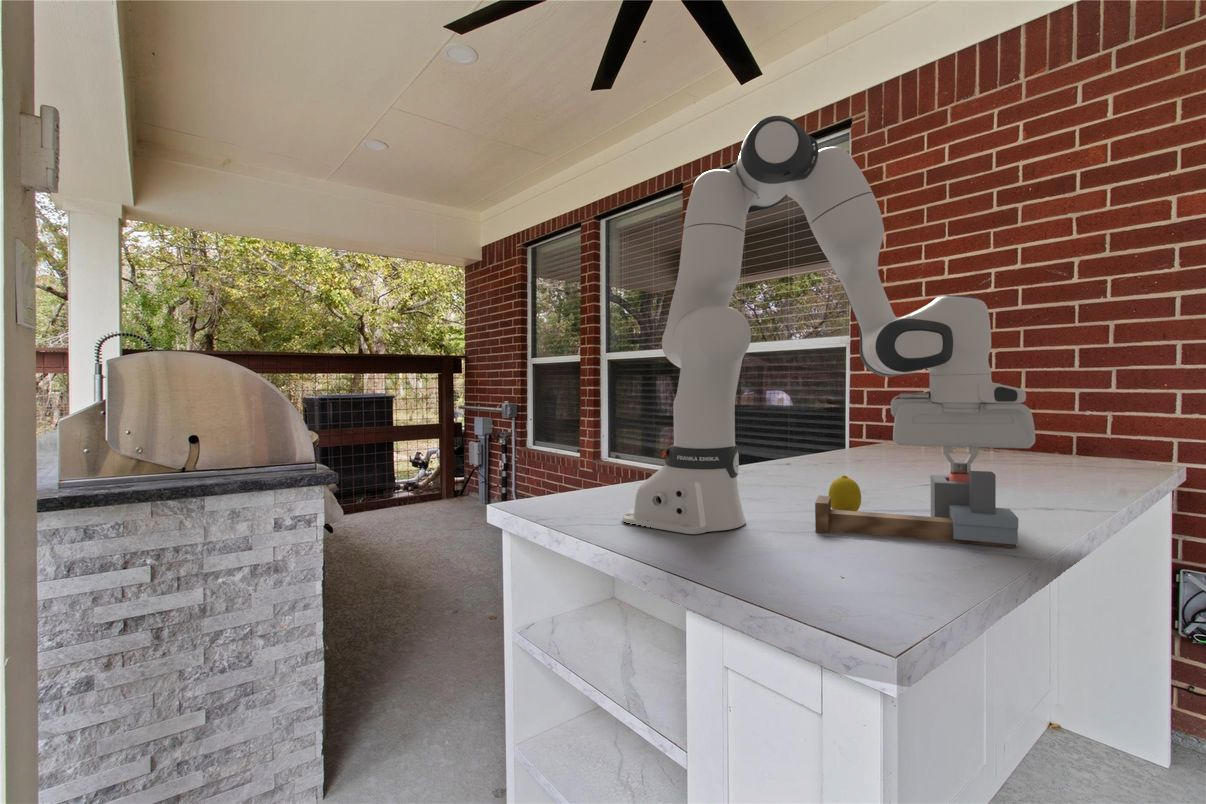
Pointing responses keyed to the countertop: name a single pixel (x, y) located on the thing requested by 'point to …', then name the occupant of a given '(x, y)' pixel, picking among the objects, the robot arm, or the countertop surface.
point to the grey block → (947, 495)
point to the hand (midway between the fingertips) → (959, 473)
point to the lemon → (845, 494)
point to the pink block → (958, 477)
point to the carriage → (983, 513)
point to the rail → (886, 524)
